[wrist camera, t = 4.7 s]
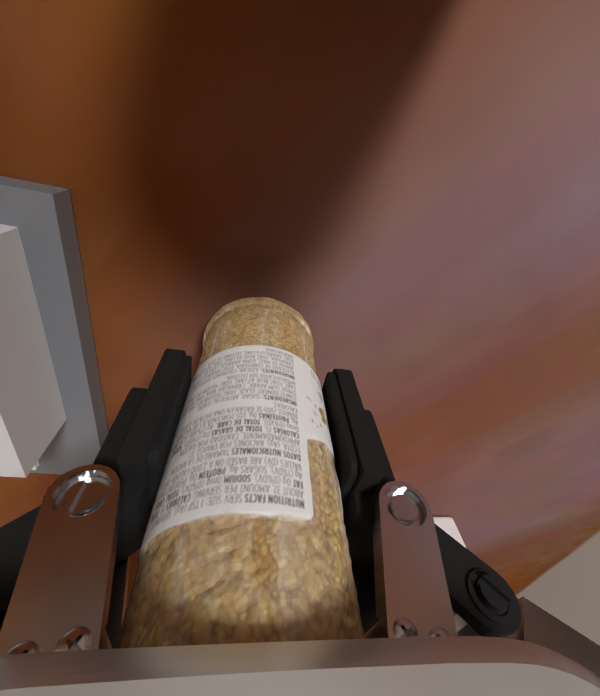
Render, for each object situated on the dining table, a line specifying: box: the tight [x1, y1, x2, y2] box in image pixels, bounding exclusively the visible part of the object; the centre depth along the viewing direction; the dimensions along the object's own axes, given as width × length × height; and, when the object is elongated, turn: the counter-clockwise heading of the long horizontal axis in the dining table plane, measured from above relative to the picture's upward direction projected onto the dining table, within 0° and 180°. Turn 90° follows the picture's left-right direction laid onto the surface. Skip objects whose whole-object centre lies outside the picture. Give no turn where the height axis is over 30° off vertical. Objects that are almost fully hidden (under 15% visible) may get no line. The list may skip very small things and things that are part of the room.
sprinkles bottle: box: [115, 297, 364, 649], centre depth 8 cm, size 5×5×14 cm
